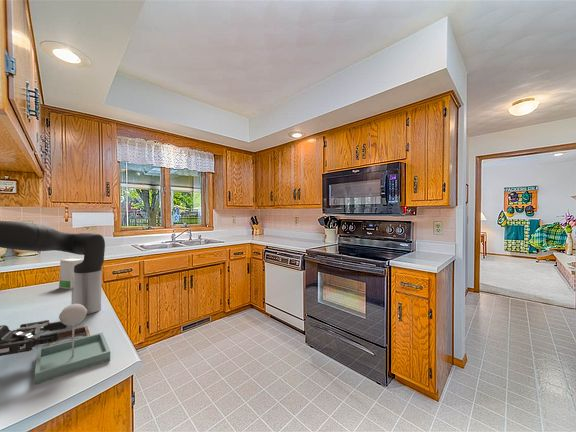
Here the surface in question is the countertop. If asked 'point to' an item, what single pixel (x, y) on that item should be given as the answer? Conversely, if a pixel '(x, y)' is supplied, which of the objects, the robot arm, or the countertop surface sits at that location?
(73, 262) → the skincare box
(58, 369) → the tray
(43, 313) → the countertop surface
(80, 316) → the lollipop
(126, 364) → the countertop surface
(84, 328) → the square wooden frame
